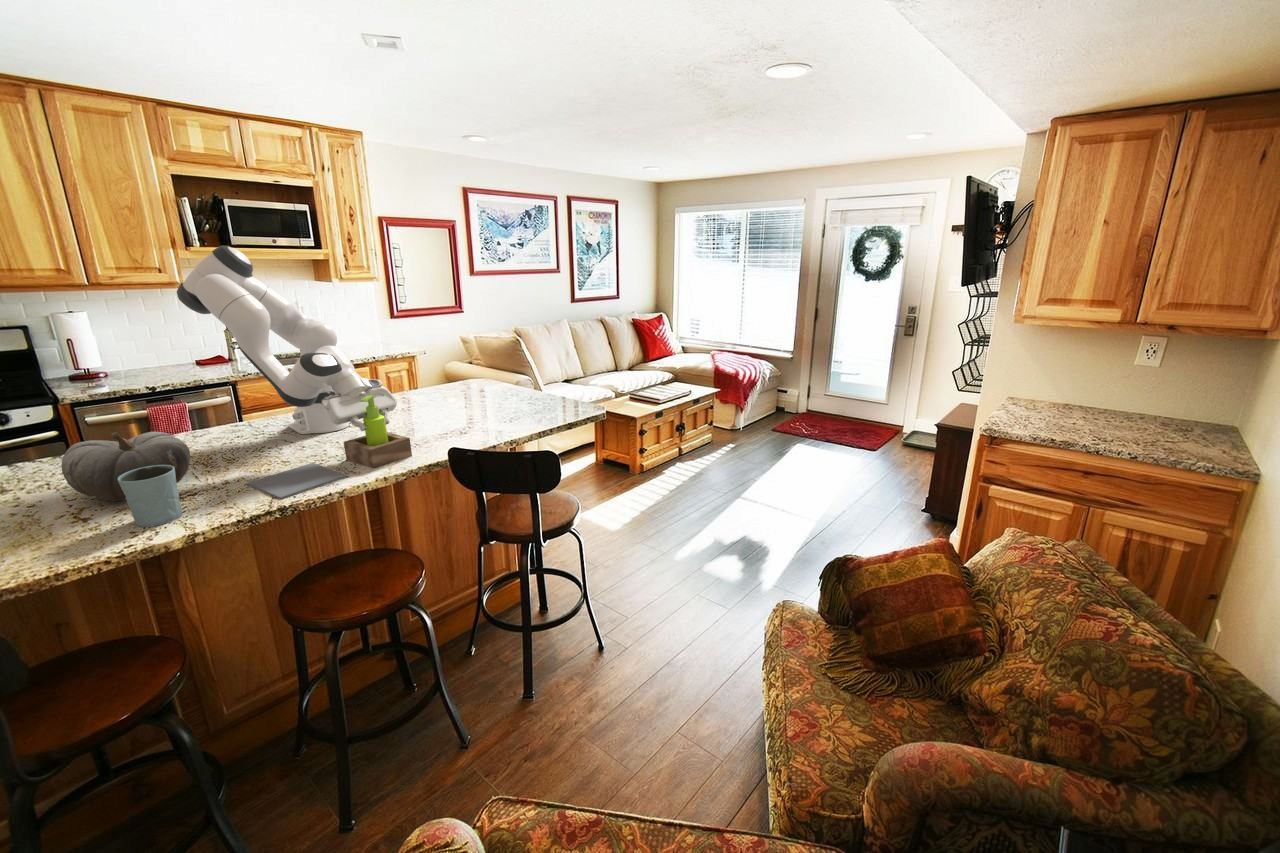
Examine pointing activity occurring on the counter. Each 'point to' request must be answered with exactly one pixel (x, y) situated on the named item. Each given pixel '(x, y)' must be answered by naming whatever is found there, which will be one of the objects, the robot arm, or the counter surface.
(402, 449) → the box
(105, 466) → the gourd
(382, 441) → the soap dispenser
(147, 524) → the blue gray cup
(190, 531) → the counter surface
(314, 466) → the slate mat
